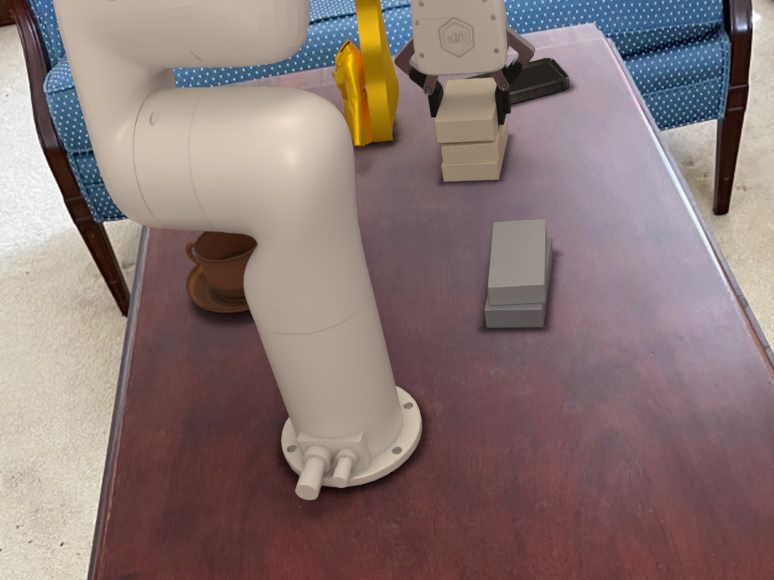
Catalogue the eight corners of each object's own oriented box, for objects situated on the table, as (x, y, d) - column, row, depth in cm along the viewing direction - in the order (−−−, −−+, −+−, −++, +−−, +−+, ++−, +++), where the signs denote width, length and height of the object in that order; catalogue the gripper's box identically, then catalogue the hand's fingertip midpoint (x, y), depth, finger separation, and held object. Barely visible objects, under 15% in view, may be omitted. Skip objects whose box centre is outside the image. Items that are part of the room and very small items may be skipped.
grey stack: (546, 327, 91) (543, 290, 88) (483, 328, 92) (478, 291, 89) (555, 254, 99) (553, 217, 95) (497, 255, 100) (493, 219, 97)
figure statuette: (346, 107, 127) (306, -72, 111) (403, 97, 127) (371, -83, 111) (346, 174, 115) (301, -15, 99) (410, 164, 115) (375, -27, 99)
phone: (571, 79, 122) (461, 107, 120) (572, 88, 122) (462, 116, 121) (551, 55, 127) (445, 82, 125) (551, 64, 128) (446, 90, 126)
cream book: (494, 140, 106) (492, 118, 104) (437, 143, 107) (434, 121, 106) (504, 98, 113) (502, 76, 111) (450, 100, 114) (447, 79, 112)
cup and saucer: (180, 327, 98) (158, 279, 94) (204, 260, 106) (186, 212, 102) (291, 318, 97) (275, 269, 92) (308, 250, 105) (293, 202, 100)
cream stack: (501, 179, 110) (497, 144, 107) (441, 182, 111) (436, 147, 108) (510, 134, 117) (507, 100, 113) (454, 137, 118) (449, 103, 115)
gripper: (363, -22, 96) (394, 140, 109) (532, -36, 93) (543, 133, 106) (377, -50, 101) (406, 108, 114) (538, -64, 98) (548, 101, 111)
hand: (471, 119), depth 110 cm, fingers closed on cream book, 6 cm apart
